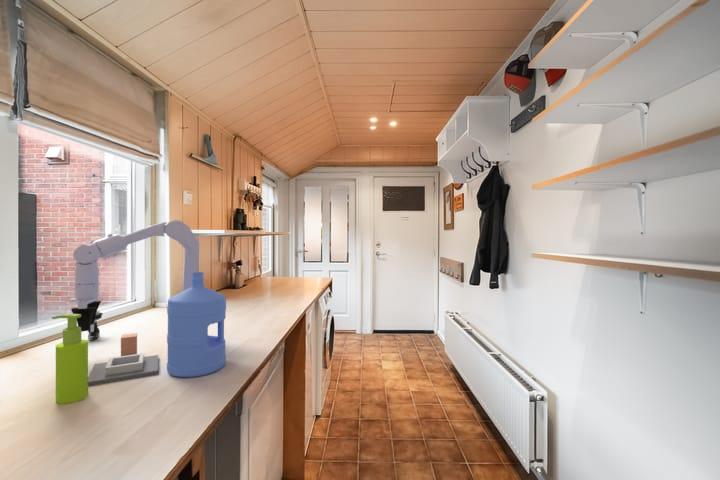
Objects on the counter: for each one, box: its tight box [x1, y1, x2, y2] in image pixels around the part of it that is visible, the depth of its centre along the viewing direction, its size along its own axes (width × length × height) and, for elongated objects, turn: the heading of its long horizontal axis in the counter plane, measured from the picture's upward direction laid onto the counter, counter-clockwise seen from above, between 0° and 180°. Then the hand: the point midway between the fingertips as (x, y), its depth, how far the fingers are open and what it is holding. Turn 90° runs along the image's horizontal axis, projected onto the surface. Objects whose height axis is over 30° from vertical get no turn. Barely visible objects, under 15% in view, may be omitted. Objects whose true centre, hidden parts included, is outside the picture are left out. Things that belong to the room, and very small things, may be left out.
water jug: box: [166, 271, 227, 378], centre depth 100 cm, size 16×16×28 cm
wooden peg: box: [120, 332, 138, 357], centre depth 108 cm, size 4×4×7 cm
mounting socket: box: [88, 353, 159, 387], centre depth 97 cm, size 16×14×3 cm
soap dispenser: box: [51, 313, 89, 405], centre depth 81 cm, size 6×7×20 cm
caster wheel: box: [87, 310, 103, 341], centre depth 125 cm, size 7×5×10 cm
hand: (87, 327), depth 105 cm, fingers open, 7 cm apart
